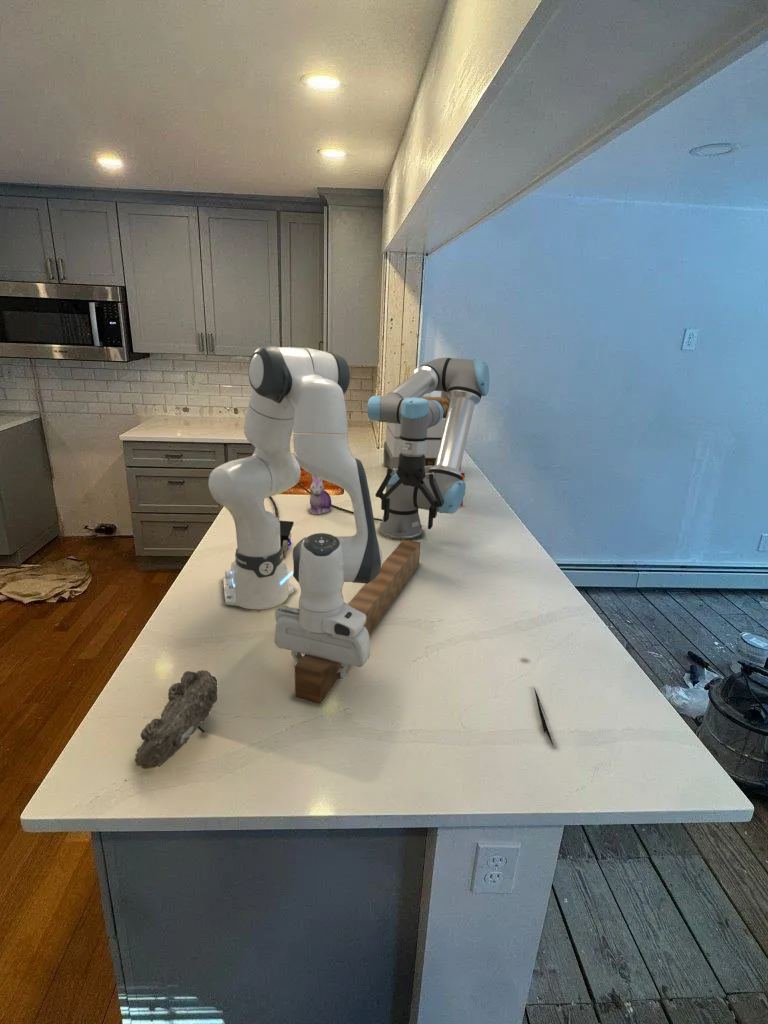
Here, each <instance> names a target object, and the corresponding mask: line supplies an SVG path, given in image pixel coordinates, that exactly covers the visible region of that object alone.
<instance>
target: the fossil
mask: <svg viewBox="0 0 768 1024" xmlns="http://www.w3.org/2000/svg"><path fill="white" fill-rule="evenodd" d="M167 698H168V701H167V703H166V705H165V706H164V708H163V709H162V712H161V714H160V718H157V717H156V718H153V719H152V720H151V721H150V722H149V723H147V724H146V725H145V727H144V728H143V729H142V731H141V733H140V738H141V740H142V743H141V744H140V746H139V747H138V748H137V749H136V753H135V755H134V756H135V757H134V762H135V764H136V766H137V767H141V768H142V769H143V770H144V769H145V770H146V769H151V768H156V767H157V768H161V767H162V766H163V765H165V763H166V762H167V761H168V760H169V759H171V758H172V757H173V756H174V755H175V754H177V752H178V751H179V750H180V749H181V748H182V747H184V746H185V744H187V743H188V741H189V739H190V737H191V736H192V735H193V734H195V732H196V731H197V730H199V731H200V732H201V733H202V734H205V733H206V730H205V729H204V728H203V726H201V723H202V722H205V721H206V720H207V718H208V717H209V716H210V712H211V711H212V709H213V707H214V705H215V703H217V702H218V679H217V677H216V676H215V675H212V674H211V672H209V670H206V669H205V670H203V669H202V670H198V671H197V672H195V671H191V670H185V672H183V674H182V677H181V678H180V682H177V683H173V684H172V685H171V686H170V687H169V688H168V693H167Z"/></svg>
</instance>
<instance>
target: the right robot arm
mask: <svg viewBox="0 0 768 1024" xmlns="http://www.w3.org/2000/svg"><path fill="white" fill-rule="evenodd" d="M398 385H399V386H398ZM398 385H397V386H395V387H394V388H393V389H392V390H391V391H389V392H388V393H387V394H385V395H384V396H383V395H372V396H371V397H369V399H368V401H367V405H366V414H367V417H368V419H370V420H371V421H375V422H378V423H386V422H387V423H395V424H401V426H400V445H399V452H400V454H399V462H398V468H397V469H395V468H393V467H388V468H387V469H386V475H385V478H383V481H382V482H381V484H380V486H379V487H378V489H377V491H376V493H375V497H376V498H379V499H380V500H381V501H380V502H381V503H380V509H381V511H383V515H382V518H376V517H374V521H378V522H379V526H378V533H379V534H380V535H381V536H382V537H385V538H387V539H389V540H395V541H403V539H405V540H411V541H412V540H415V539H418V538H420V537H421V536H422V535H423V525H422V524H421V518H420V515H419V509H420V510H424V511H428V519H427V520H428V521H427V530H431V529H432V528H433V527H434V519H436V518H437V516H438V513H439V514H449V515H452V514H455V513H456V512H457V511H458V510H459V509H460V507H461V506H460V505H461V503H462V501H463V502H464V497H465V494H466V488H467V487H466V486H467V485H466V482H465V481H462V477H463V476H462V475H461V473H462V472H461V473H460V466H461V467H462V461H463V459H464V458H463V457H464V453H465V449H466V444H467V441H468V437H469V436H468V435H469V433H470V427H471V424H472V419H473V415H474V409H475V406H476V405H477V404H479V403H480V402H481V399H482V397H486V396H487V395H488V393H489V389H490V370H489V365H488V363H487V362H486V361H485V360H480V359H479V360H478V359H476V358H473V359H470V358H469V359H467V358H455V357H454V358H453V357H439V358H438V357H437V358H435V359H432V360H429V361H427V362H425V363H423V364H421V365H420V366H418V367H416V368H415V369H414V371H413V372H412V375H411V376H410V377H408V378H407V379H406V380H404V381H402V382H401V383H400V384H398ZM442 391H444V392H448V393H447V396H448V397H449V399H450V403H449V408H448V412H447V416H446V420H445V424H444V429H443V433H442V437H441V441H440V445H439V450H438V454H437V458H436V462H435V466H431V467H430V468H429V469H428V472H426V471H425V467H426V466H425V455H424V454H425V453H426V439H427V428H429V427H432V426H435V425H436V424H437V423H439V422H440V421H441V419H442V417H443V408H442V406H441V404H440V403H439V402H437V401H435V400H427V399H424V398H421V397H424V396H425V395H426V394H430V393H433V392H442ZM387 423H386V424H387ZM296 485H298V486H299V487H300V488H301V489H303V490H304V491H306V492H307V494H309V495H310V496H311V495H312V493H311V491H310V490H309V489H307V488H306V487H304V486H303V485H302V484H301V483H299V482H298V483H297V484H296ZM384 492H385V493H384ZM331 508H334V509H338V510H340V511H342V512H343V511H344V512H347V513H350V514H353V515H354V512H353V510H349V509H346V508H343V507H339V506H337V505H334V504H333V503H331Z"/></svg>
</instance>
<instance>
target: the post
mask: <svg viewBox="0 0 768 1024" xmlns="http://www.w3.org/2000/svg"><path fill="white" fill-rule="evenodd" d="M421 545H422V542H421V541H417V540H412V539H411V540H405V539H403V540H401V542H399V544H398V545H397V546H396V547H395V548H394V549H393V551H392V552H391V553H390V554H389V555H388V557H386V559H385V560H384V561H383V562H382V569H381V573H380V574H379V575H378V576H377V577H376V578H375V579H374V580H372V581H371V582H369V583H368V584H366V583H364V585H363V586H362V587H361V588H360V589H359V591H358V592H357V593H356V594H355V595H354V596H353V597H352V598H351V600H349V602H348V603H347V604H348V605H349V606H351V607H353V608H354V609H356V610H358V611H360V612H362V613H364V614H365V615H366V623H365V625H364V627H365V628H366V629H367V631H368V634H369V636H370V635H371V634H372V632H373V630H374V629H375V628H376V626H377V625H378V624H379V622H380V621H381V619H382V618H383V616H384V615H385V613H387V611H388V610H389V608H390V607H391V605H392V604H393V602H394V601H395V600H396V598H397V597H398V595H399V594H400V592H401V591H402V590H403V588H404V587H405V586H406V584H407V583H408V581H409V580H410V578H411V577H412V576H413V574H414V573H415V571H416V569H417V568H418V567H419V566H420V559H421ZM302 656H303V657H302V658H301V659H300V660H299V661H298V663H297V662H296V663H295V665H294V698H295V699H299V700H303V701H306V702H310V703H314V704H318V705H321V704H322V703H323V701H324V700H325V698H326V697H327V695H328V694H329V693H330V691H332V688H333V687H334V686H335V685H336V683H337V682H338V680H339V679H338V678H336V676H337V675H336V672H337V670H338V669H339V667H341V668H344V667H342V666H341V663H339V662H335V661H331V660H327V659H323V658H319V657H315V656H311V655H307V654H303V655H302Z"/></svg>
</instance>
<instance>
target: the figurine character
mask: <svg viewBox="0 0 768 1024" xmlns="http://www.w3.org/2000/svg"><path fill="white" fill-rule="evenodd" d="M279 522H280V546H281V547H282V552H283V556H285V553H286V552H288V551H289V547H290V546H292V545H293V542H292V533H291V532H292V529H293V526H294V524H295V523H294V521H289V520H279Z"/></svg>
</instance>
